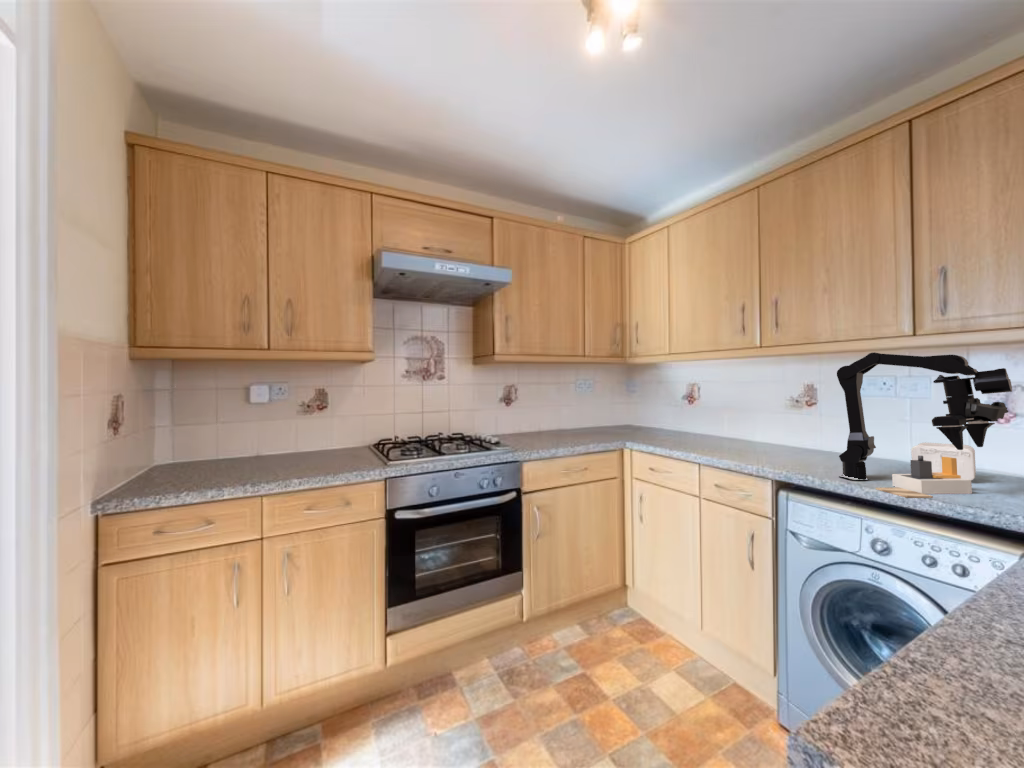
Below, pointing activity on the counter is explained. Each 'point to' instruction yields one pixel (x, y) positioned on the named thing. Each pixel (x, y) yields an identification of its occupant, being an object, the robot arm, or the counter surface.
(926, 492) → the white recessed block
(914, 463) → the plug
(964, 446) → the cable organizer
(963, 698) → the counter surface
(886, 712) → the counter surface
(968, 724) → the counter surface
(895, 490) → the cork pad
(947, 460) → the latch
